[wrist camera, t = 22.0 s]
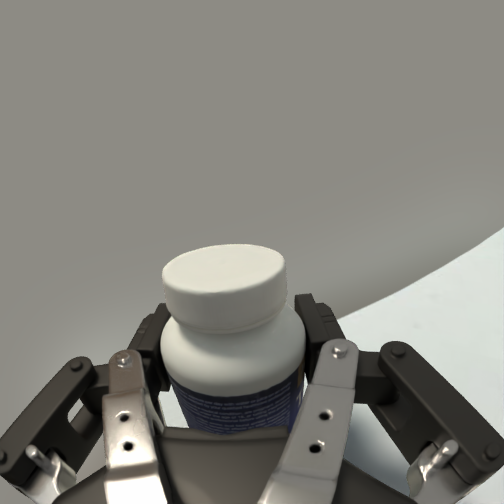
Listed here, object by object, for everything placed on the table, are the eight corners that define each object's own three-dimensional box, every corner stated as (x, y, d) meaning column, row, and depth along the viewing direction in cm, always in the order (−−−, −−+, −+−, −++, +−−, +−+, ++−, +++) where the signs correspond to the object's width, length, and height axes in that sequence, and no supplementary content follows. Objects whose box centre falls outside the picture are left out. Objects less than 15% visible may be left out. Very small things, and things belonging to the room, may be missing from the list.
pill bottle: (316, 453, 10) (344, 277, 7) (210, 486, 9) (134, 322, 6) (275, 387, 15) (269, 230, 12) (189, 409, 14) (144, 251, 10)
